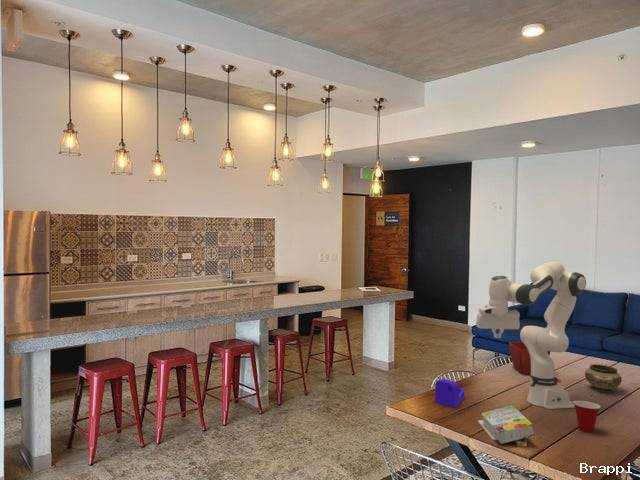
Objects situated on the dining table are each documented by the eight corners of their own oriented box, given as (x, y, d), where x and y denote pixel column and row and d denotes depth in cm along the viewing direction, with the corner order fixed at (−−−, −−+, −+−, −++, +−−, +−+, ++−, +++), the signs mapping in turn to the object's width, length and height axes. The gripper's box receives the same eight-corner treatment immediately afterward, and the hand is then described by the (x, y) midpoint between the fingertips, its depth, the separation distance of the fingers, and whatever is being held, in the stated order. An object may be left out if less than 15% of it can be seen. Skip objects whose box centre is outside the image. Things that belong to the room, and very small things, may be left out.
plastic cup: (600, 428, 218) (601, 402, 218) (598, 436, 209) (599, 409, 209) (573, 422, 224) (574, 397, 224) (571, 430, 215) (571, 404, 215)
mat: (494, 421, 224) (494, 420, 224) (511, 440, 204) (511, 439, 204) (477, 421, 224) (477, 420, 224) (492, 440, 204) (492, 439, 204)
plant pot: (550, 377, 293) (551, 350, 293) (519, 376, 293) (520, 349, 293) (536, 368, 312) (537, 342, 312) (507, 367, 312) (508, 341, 312)
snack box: (515, 415, 220) (483, 423, 220) (512, 404, 220) (480, 411, 220) (535, 436, 199) (500, 444, 199) (532, 423, 199) (497, 431, 199)
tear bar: (505, 423, 221) (505, 417, 221) (526, 446, 198) (526, 439, 198) (497, 423, 221) (497, 417, 221) (517, 446, 198) (518, 439, 198)
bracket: (454, 408, 240) (454, 385, 239) (435, 402, 248) (435, 379, 247) (471, 399, 252) (472, 377, 252) (453, 394, 260) (453, 372, 260)
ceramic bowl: (614, 403, 258) (623, 378, 256) (578, 388, 268) (587, 364, 265) (616, 391, 278) (625, 367, 276) (583, 377, 288) (591, 354, 286)
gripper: (517, 308, 236) (516, 336, 236) (475, 308, 236) (474, 335, 236) (522, 311, 229) (521, 339, 230) (479, 310, 229) (478, 338, 230)
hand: (497, 337), depth 233 cm, fingers closed
